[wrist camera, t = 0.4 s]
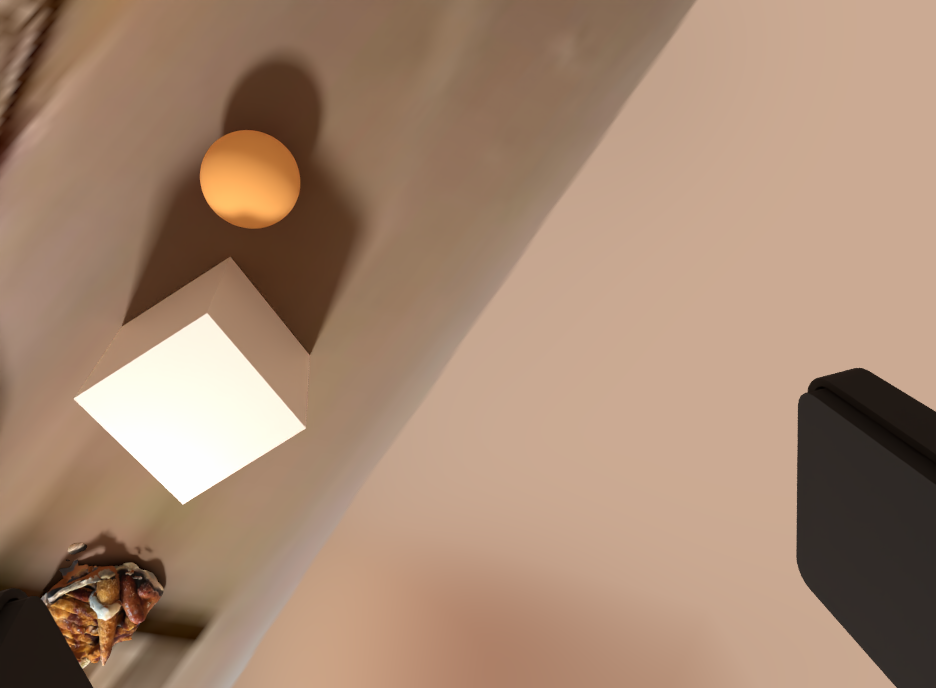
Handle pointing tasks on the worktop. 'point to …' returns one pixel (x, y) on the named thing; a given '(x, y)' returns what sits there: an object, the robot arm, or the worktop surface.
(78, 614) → the pastry
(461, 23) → the worktop surface
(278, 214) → the ball
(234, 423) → the cream matte cube
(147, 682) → the worktop surface
